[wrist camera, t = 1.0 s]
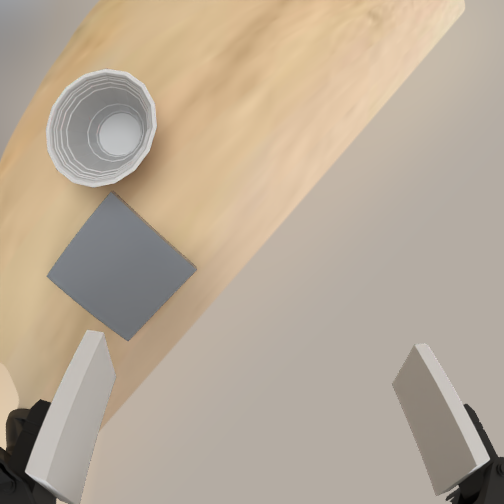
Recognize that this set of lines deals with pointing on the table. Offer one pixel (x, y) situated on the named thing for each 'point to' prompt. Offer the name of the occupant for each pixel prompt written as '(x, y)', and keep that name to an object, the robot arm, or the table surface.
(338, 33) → the table surface
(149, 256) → the slate tile
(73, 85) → the plastic cup
